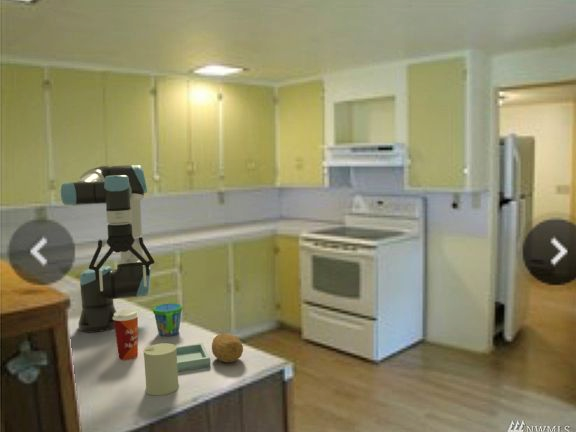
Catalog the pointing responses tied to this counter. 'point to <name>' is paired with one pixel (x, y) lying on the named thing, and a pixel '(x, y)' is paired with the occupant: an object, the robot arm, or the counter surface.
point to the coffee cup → (126, 333)
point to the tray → (192, 357)
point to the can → (161, 369)
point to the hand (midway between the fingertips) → (123, 287)
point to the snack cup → (168, 318)
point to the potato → (227, 347)
